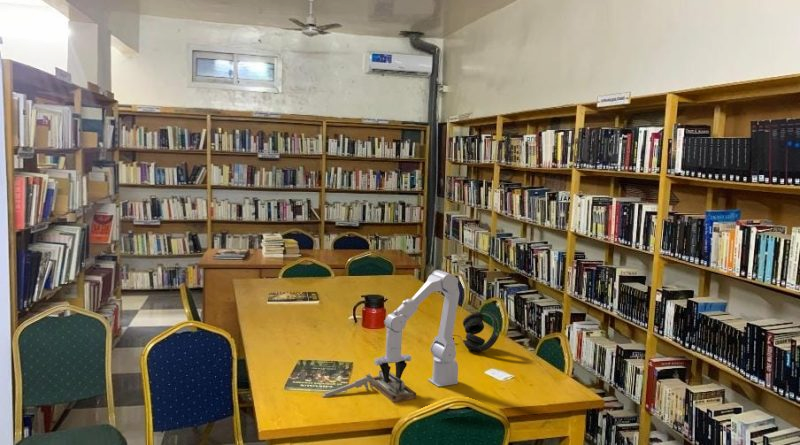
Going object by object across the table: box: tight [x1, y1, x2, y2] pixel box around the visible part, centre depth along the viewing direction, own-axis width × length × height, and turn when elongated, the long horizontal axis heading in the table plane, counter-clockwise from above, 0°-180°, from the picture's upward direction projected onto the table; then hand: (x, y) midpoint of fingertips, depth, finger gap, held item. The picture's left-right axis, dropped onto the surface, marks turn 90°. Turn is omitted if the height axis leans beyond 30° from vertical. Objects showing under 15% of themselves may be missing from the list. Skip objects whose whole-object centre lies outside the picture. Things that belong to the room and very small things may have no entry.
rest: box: [372, 375, 417, 403], centre depth 224 cm, size 9×20×2 cm, turn 28°
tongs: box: [378, 369, 406, 394], centre depth 224 cm, size 3×14×5 cm, turn 28°
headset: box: [452, 310, 501, 352], centre depth 278 cm, size 18×14×29 cm
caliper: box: [321, 372, 374, 398], centre depth 220 cm, size 20×1×6 cm, turn 121°
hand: (392, 381), depth 224 cm, fingers open, 4 cm apart
